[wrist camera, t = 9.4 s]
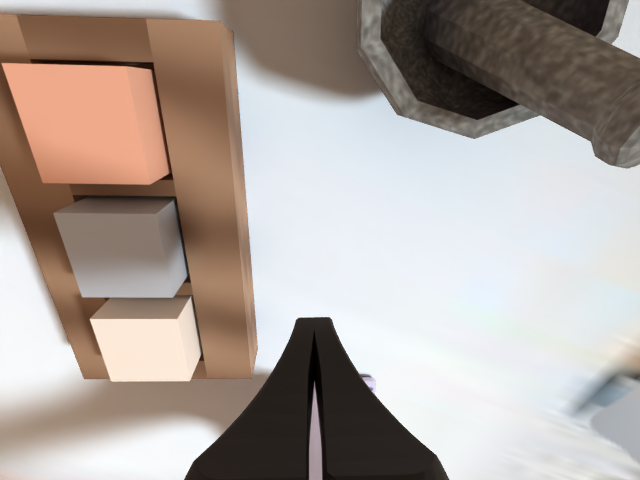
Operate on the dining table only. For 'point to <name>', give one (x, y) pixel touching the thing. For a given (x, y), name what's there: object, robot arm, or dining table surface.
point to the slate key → (125, 245)
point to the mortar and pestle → (507, 66)
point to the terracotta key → (91, 122)
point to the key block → (183, 182)
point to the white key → (148, 338)
